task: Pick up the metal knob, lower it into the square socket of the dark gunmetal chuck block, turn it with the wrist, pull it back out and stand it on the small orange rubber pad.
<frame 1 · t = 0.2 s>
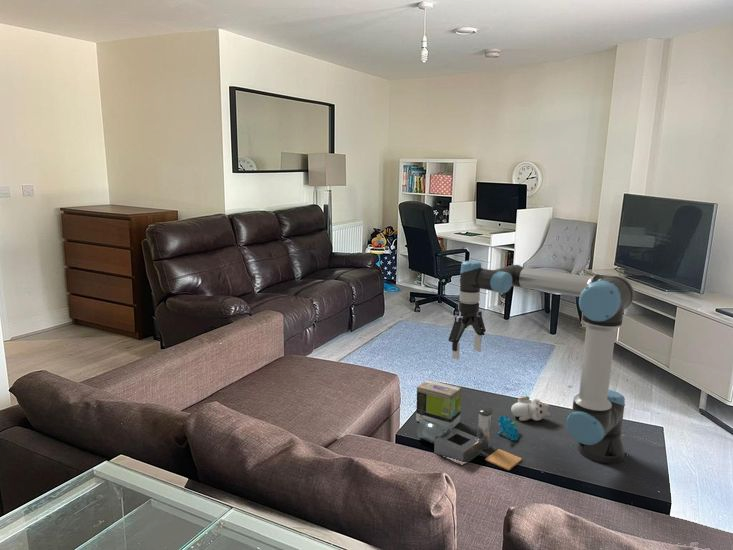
hand: (466, 354, 205), 28 cm above the table, fingers open, 13 cm apart
chuck: (458, 452, 187), on the table
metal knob: (483, 446, 191), on the table
pad: (503, 460, 182), on the table
gear: (508, 437, 198), on the table
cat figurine: (529, 419, 212), on the table
tea box: (437, 422, 210), on the table
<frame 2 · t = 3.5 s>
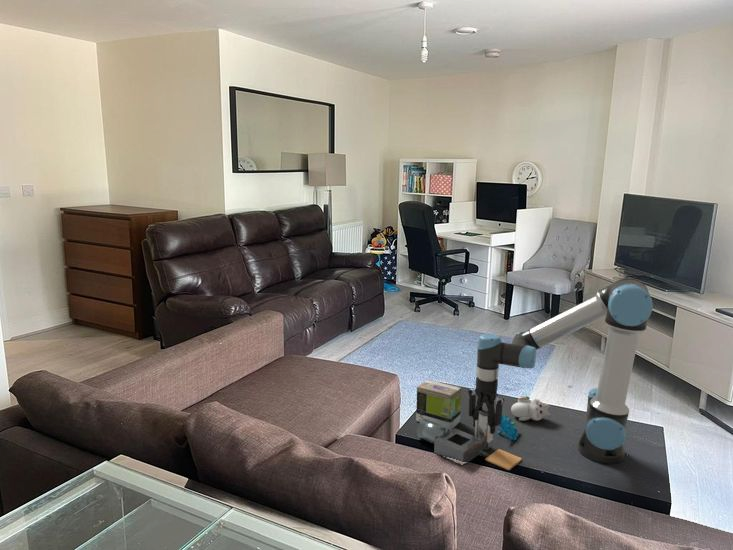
hand: (483, 438, 191), 3 cm above the table, fingers closed on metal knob, 4 cm apart
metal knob: (483, 446, 191), on the table, touching gripper
everything else where it was.
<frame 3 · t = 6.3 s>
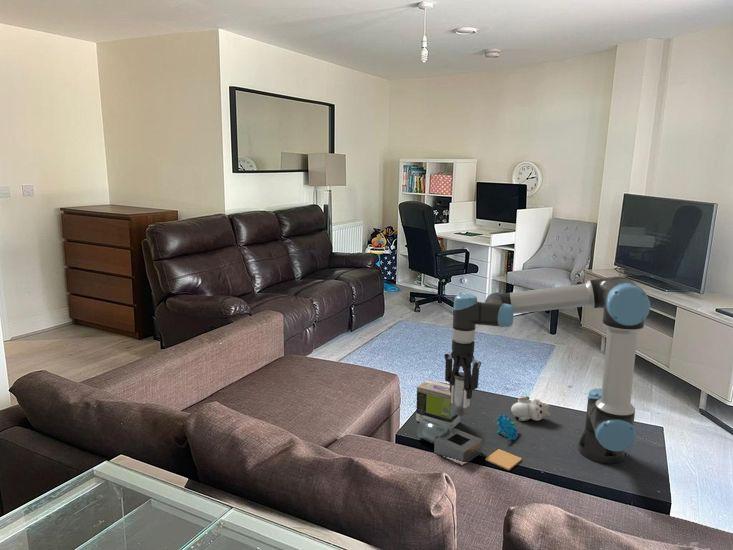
hand: (460, 404, 183), 18 cm above the table, fingers closed on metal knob, 4 cm apart
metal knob: (459, 412, 184), point 15 cm above the table, touching gripper
everything else where it was.
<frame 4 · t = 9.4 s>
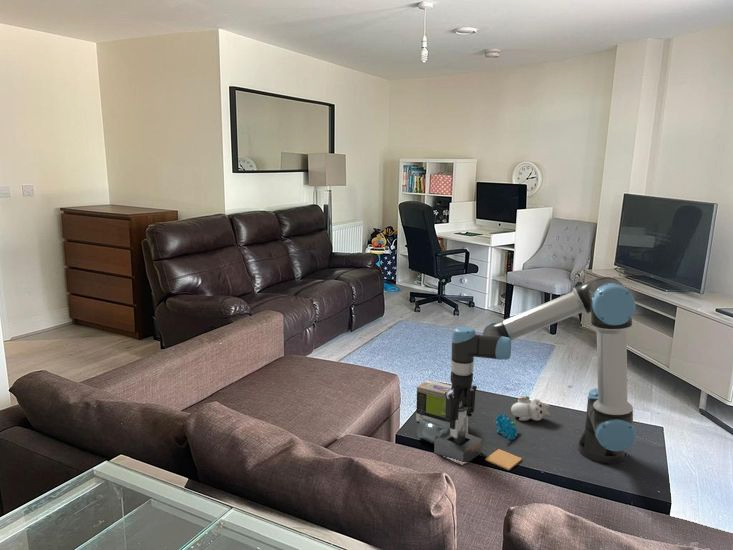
hand: (459, 434, 185), 7 cm above the table, fingers closed on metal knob, 4 cm apart
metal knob: (458, 443, 186), point 4 cm above the table, touching gripper
everything else where it was.
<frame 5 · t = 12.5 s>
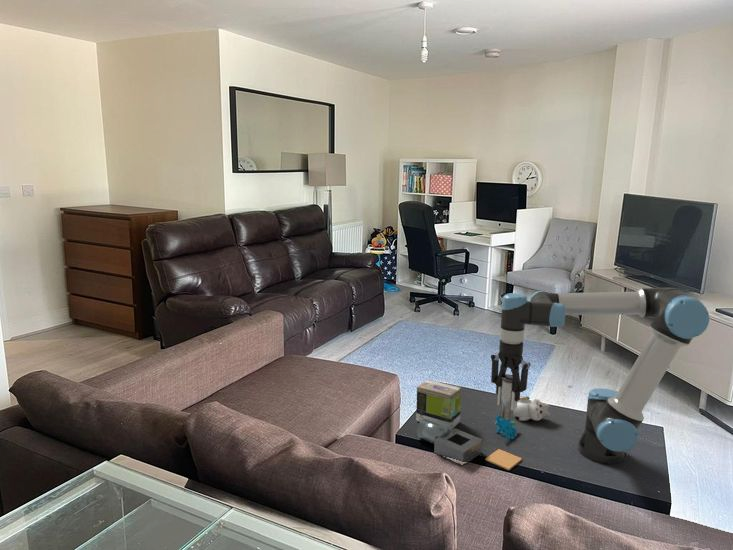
hand: (507, 406, 178), 20 cm above the table, fingers closed on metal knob, 4 cm apart
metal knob: (506, 416, 179), point 16 cm above the table, touching gripper
when the fingers open (5 cm above the table, at t = 15.3 s): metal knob stays where it is, resting on pad.
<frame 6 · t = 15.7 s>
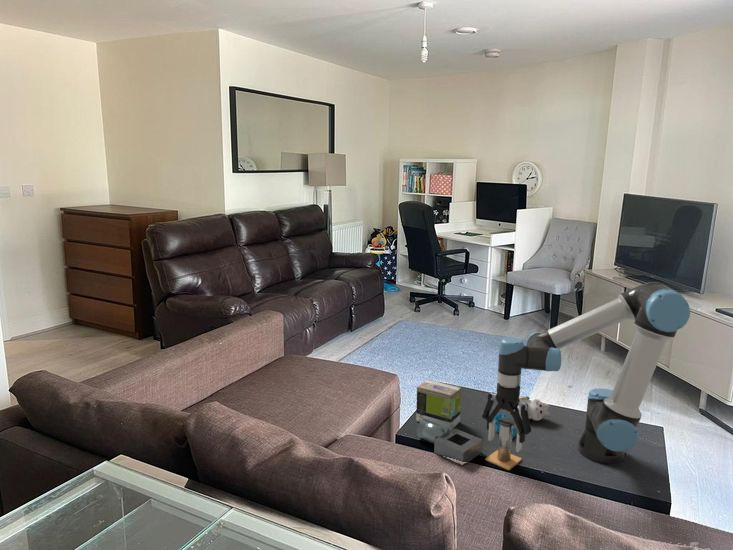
hand: (504, 444, 181), 6 cm above the table, fingers open, 10 cm apart
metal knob: (503, 458, 182), point 1 cm above the table, touching pad
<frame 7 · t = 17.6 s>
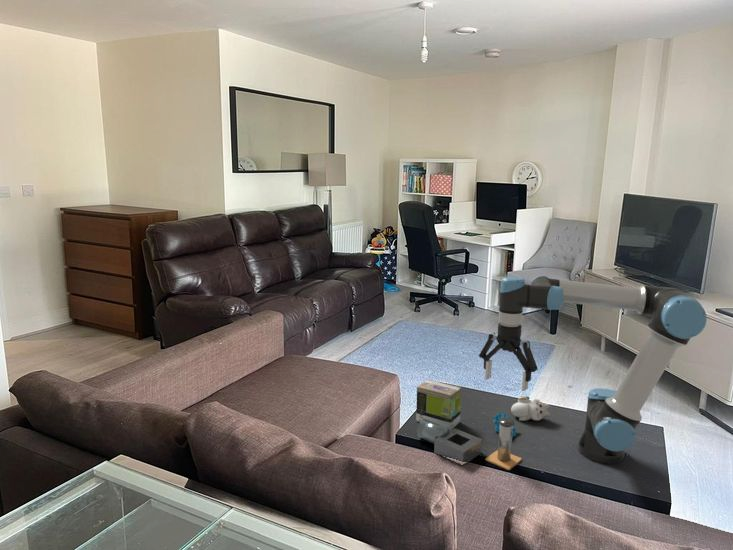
hand: (505, 384, 178), 27 cm above the table, fingers open, 13 cm apart
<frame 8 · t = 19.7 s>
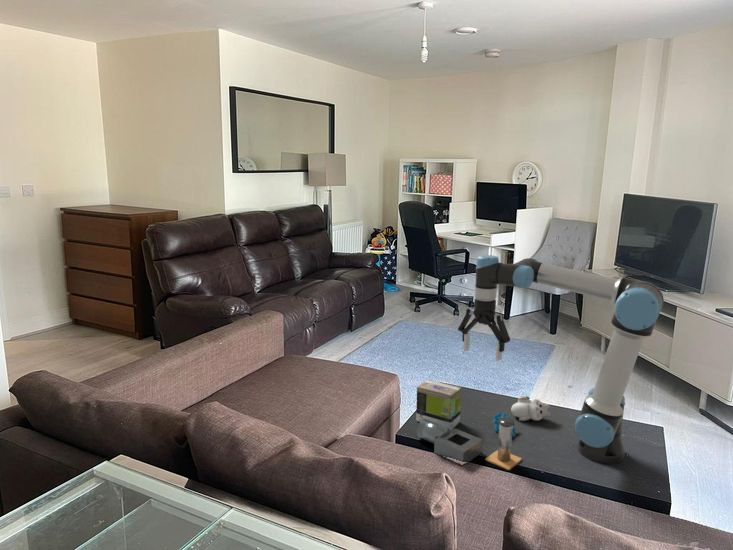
hand: (482, 355, 193), 32 cm above the table, fingers open, 13 cm apart
at the end: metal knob inside the target area on the pad (0.1 cm from its centre), point 0.6 cm above the pad's base; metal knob tilted 0°; the gripper is holding nothing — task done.
